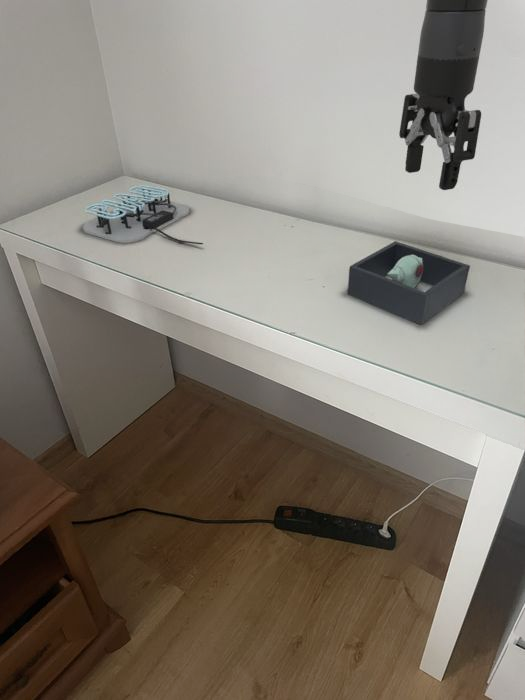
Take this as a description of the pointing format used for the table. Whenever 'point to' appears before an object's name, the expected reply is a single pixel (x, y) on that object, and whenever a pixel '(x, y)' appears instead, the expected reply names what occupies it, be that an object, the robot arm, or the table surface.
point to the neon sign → (135, 216)
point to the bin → (403, 298)
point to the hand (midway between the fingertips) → (428, 179)
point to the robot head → (407, 270)
